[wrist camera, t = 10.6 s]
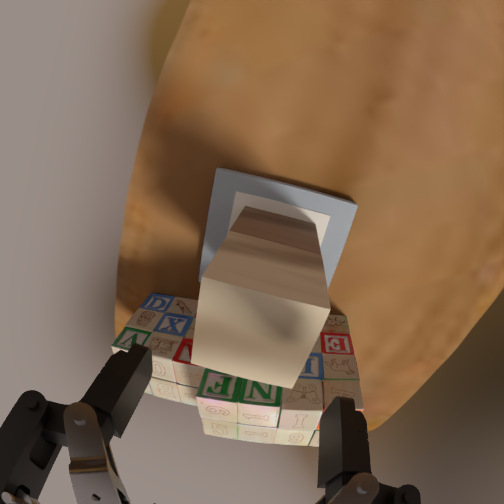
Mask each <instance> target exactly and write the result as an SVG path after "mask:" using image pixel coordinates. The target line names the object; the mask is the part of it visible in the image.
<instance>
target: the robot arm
mask: <svg viewBox="0 0 504 504" xmlns="http://www.w3.org/2000/svg"><path fill="white" fill-rule="evenodd" d="M152 372H153V364H152V349H151V348H148V347H146V346H143V345H140V344H138V343H134V344H133V345H132V346H131V348H130V349H129V351H128V352H125V351H123V350H120V351H118V352H116V353H115V354H113V355H112V356H111V357H110V358H109V360H108V361H107V363H106V364H105V366H104V367H103V368H102V370H101V371H100V373H99V374H98V376H97V377H96V379H95V380H94V382H93V383H92V385H91V386H90V388H89V389H88V391H87V392H86V394H85V395H84V397H83V398H82V399H81V400H80V401H79V402H75V403H72V404H70V405H64V404H58V403H55V402H51V401H47V400H46V399H45V398H44V396H43V395H42V394H41V393H40V392H38V391H34V390H30V391H26V392H24V393H23V394H22V395H21V396H20V398H19V399H18V401H17V402H16V404H15V405H14V407H13V408H12V410H11V412H10V413H9V415H8V416H7V418H6V420H5V421H4V423H3V424H2V426H1V428H0V504H40V503H39V502H38V497H39V495H40V493H41V491H42V488H43V486H44V484H45V482H46V479H47V477H48V475H49V473H50V471H51V468H52V466H53V464H54V462H55V460H56V458H57V456H58V454H59V452H60V450H61V448H62V446H66V447H68V450H69V455H70V460H71V463H70V464H69V473H70V478H71V482H72V485H73V489H74V493H75V496H76V500H77V503H78V504H131V503H130V500H129V497H128V495H127V492H126V490H125V488H124V485H123V483H122V481H121V479H120V476H119V473H118V470H117V467H116V463H115V460H114V457H113V454H112V450H111V446H110V440H111V439H112V437H113V435H114V436H116V437H118V438H121V436H122V434H123V432H124V430H125V428H126V426H127V424H128V422H129V420H130V418H131V417H132V415H133V413H134V411H135V409H136V407H137V405H138V403H139V401H140V399H141V397H142V395H143V393H144V392H145V390H146V388H147V386H148V384H149V382H150V380H151V377H152ZM318 463H319V464H318V485H317V488H326V489H325V495H323V496H322V497H321V498H320V499H319V500H318V501H317V503H315V504H421V499H420V492H419V490H418V489H417V488H416V487H415V486H413V485H408V484H407V485H403V486H401V487H399V488H395V487H392V486H388V485H384V484H381V483H380V482H378V480H377V478H376V477H375V476H374V475H372V472H371V466H370V454H369V442H368V433H367V423H366V419H365V417H364V415H363V414H362V412H361V411H357V410H355V401H354V399H353V398H347V397H340V396H336V397H335V398H334V399H333V401H332V402H331V403H330V405H329V406H328V407H327V409H326V410H325V411H324V413H323V414H322V416H321V419H320V424H319V462H318Z"/></svg>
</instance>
